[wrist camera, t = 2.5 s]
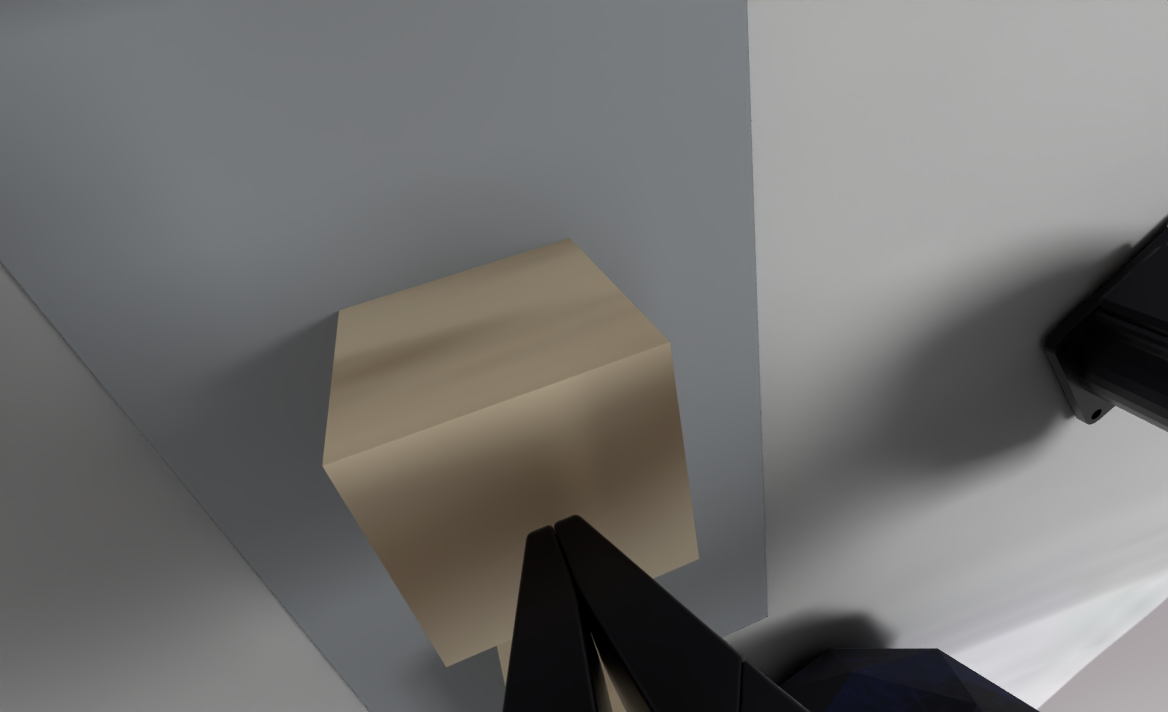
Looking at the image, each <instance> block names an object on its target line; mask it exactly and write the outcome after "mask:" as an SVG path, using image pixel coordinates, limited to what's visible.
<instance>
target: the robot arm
mask: <svg viewBox="0 0 1168 712" xmlns="http://www.w3.org/2000/svg"><path fill="white" fill-rule="evenodd" d="M1044 350H1045V352H1046V354H1047V356H1048V358H1049V360H1050V362H1051V365H1052V367H1053V369H1054V371H1055V373H1056V375H1057V377H1058V379H1059V382H1060V384H1061V386H1062V388H1063V390H1064V392H1065V394H1066V396H1067V399H1068V401H1069V403H1070V405H1071V407H1072V409H1073V411H1074V414H1075V416H1076V418H1078V419H1079V420H1081V421H1083V422H1085V423H1086V424H1093V423H1095V422H1097V421H1098V420H1099V419H1100V418H1102V417H1103V416H1104V415H1105V414H1106V413H1107V412H1108V411H1110V410H1111V409H1112V408H1113V407H1114V406H1117V407H1119V408H1121V409H1123V410H1125V411H1127V412H1129V413H1131V414H1133V415H1135V416H1137V417H1139V418H1141V419H1143V420H1145V421H1147V422H1149V423H1151V424H1153V425H1155V426H1157V427H1159V428H1161V429H1163V430H1165V431H1167V432H1168V227H1167V228H1166V229H1165V230H1164V231H1163V232H1162V233H1161V234H1160V235H1159V236H1157V237H1156V238H1155V239H1154V240H1153V241H1152V242H1151V243H1150V244H1149V245H1148V246H1146V247H1145V248H1144V249H1143V250H1142V251H1141V252H1140V253H1139V254H1138V255H1137V256H1135V257H1134V258H1133V259H1132V260H1131V261H1130V262H1129V263H1128V264H1127V265H1126V266H1124V267H1123V268H1122V269H1121V270H1120V271H1119V272H1118V273H1117V274H1116V275H1115V276H1114V277H1112V278H1111V279H1110V280H1109V281H1108V282H1107V283H1106V284H1105V285H1104V286H1103V287H1101V288H1100V289H1099V290H1098V291H1097V292H1096V293H1095V294H1094V295H1093V296H1092V297H1090V298H1089V299H1088V300H1087V301H1086V302H1085V303H1084V304H1083V305H1082V306H1081V307H1079V308H1078V309H1077V310H1076V311H1075V312H1074V313H1073V314H1072V315H1071V316H1070V317H1069V318H1067V319H1066V320H1065V321H1064V322H1063V323H1062V324H1061V325H1060V326H1059V327H1058V328H1056V329H1055V330H1054V331H1053V332H1052V333H1051V334H1050V335H1049V336H1048V338H1047V340H1046V341H1045V345H1044ZM554 529H555V530H554ZM555 532H556V533H555ZM595 645H596V646H595ZM596 648H597V649H596ZM597 650H598V652H597ZM598 653H599V656H600V658H601V661H602V663H603V665H604V667H605V669H606V672H607V674H608V676H609V678H610V680H611V682H612V684H613V686H614V688H615V690H616V692H617V694H618V696H619V698H620V700H621V702H622V704H623V706H624V708H625V710H626V712H810V711H809V710H807V709H806V708H805V707H803V706H802V705H801V704H800V703H799V702H797V701H796V700H795V699H794V698H792V697H791V696H790V695H789V694H787V693H786V692H785V691H784V690H783V689H781V688H780V687H779V686H778V685H776V684H775V683H774V682H773V681H771V680H770V679H769V678H768V677H767V676H766V675H764V674H763V673H762V672H761V671H760V670H759V669H757V668H756V667H755V666H754V665H753V664H752V663H751V662H749V661H748V660H745V661H744V662H743V656H742V655H741V654H740V653H739V652H737V651H736V650H735V649H734V648H733V647H732V646H730V645H729V644H728V643H727V642H726V641H725V640H723V639H722V638H721V637H720V636H719V635H718V634H717V633H715V632H714V631H713V630H712V629H711V628H710V627H708V626H707V625H706V624H705V623H704V622H703V621H701V620H700V619H699V618H698V617H697V616H696V615H695V614H693V613H692V612H691V611H690V610H689V609H688V608H686V607H685V606H684V605H683V604H682V603H681V602H679V601H678V600H677V599H676V598H675V597H674V596H673V595H671V594H670V593H669V592H668V591H667V590H666V589H664V588H663V587H662V586H661V585H660V584H659V583H657V582H656V581H655V580H654V579H653V578H652V577H651V576H649V575H648V574H647V573H646V572H645V571H644V570H642V569H641V568H640V567H639V566H638V565H637V564H635V563H634V562H633V561H632V560H631V559H630V558H628V557H627V556H626V555H625V554H624V553H623V552H622V551H620V550H619V549H618V548H617V547H616V546H615V545H613V544H612V543H611V542H610V541H609V540H608V539H606V538H605V537H604V536H603V535H602V534H601V533H600V532H598V531H597V530H596V529H595V528H594V527H593V526H591V525H590V524H589V523H588V522H587V521H586V520H584V519H583V518H582V517H581V516H579V515H572V516H570V517H567V518H565V519H562V520H559V521H557V522H556V523H555V524H554V528H553V526H551V525H547V526H544V527H542V528H539V529H537V530H534V531H532V532H530V533H529V534H528V535H527V537H526V543H525V550H524V557H523V564H522V571H521V579H520V586H519V593H518V600H517V607H516V614H515V622H514V629H513V636H512V643H511V650H510V657H509V665H508V672H507V679H506V686H505V693H504V700H503V708H502V712H613V711H612V706H611V702H610V698H609V694H608V689H607V685H606V681H605V677H604V673H603V669H602V665H601V662H600V659H599V656H598Z"/></svg>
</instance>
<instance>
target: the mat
mask: <svg viewBox="0 0 1168 712" xmlns="http://www.w3.org/2000/svg"><path fill="white" fill-rule="evenodd" d="M568 238H570V239H571V240H572V241H573V242H574V243H575V244H576V245H577V246H578V247H579V248H580V249H581V250H582V251H583V252H584V253H585V254H586V255H587V256H588V257H589V258H590V259H591V260H592V261H593V263H594V264H595V265H596V266H597V267H598V268H599V269H600V270H601V271H602V272H603V273H604V274H605V275H606V276H607V277H608V278H609V279H610V280H611V281H612V282H613V283H614V284H615V285H616V286H617V287H618V289H619V290H620V291H621V292H622V293H623V294H624V295H625V296H626V297H627V298H628V299H629V300H630V301H631V302H632V303H633V304H634V305H635V306H636V307H637V308H638V309H639V310H640V311H641V312H642V313H643V314H644V316H645V317H646V318H647V319H648V320H649V321H650V322H651V323H652V324H653V325H654V326H655V327H656V328H657V329H658V330H659V331H660V332H661V333H662V334H663V335H664V336H665V337H666V338H667V339H668V340H669V342H670V345H671V353H672V360H673V368H674V375H675V383H676V390H677V398H678V405H679V412H680V420H681V427H682V435H683V442H684V450H685V457H686V465H687V472H688V480H689V487H690V495H691V502H692V510H693V517H694V524H695V532H696V539H697V547H698V554H699V559H698V560H696V561H693V562H691V563H689V564H686V565H684V566H682V567H679V568H677V569H674V570H672V571H670V572H667V573H665V574H663V575H660V576H658V577H656V578H653V579H654V580H655V581H656V582H657V583H659V584H660V585H661V586H662V587H663V588H664V589H666V590H667V591H668V592H669V593H670V594H671V595H673V596H674V597H675V598H676V599H677V600H678V601H679V602H681V603H682V604H683V605H684V606H685V607H686V608H688V609H689V610H690V611H691V612H692V613H693V614H695V615H696V616H697V617H698V618H699V619H700V620H701V621H703V622H704V623H705V624H706V625H707V626H708V627H710V628H711V629H712V630H713V631H714V632H715V633H717V634H718V635H719V636H720V637H721V638H722V637H724V636H726V635H728V634H731V633H733V632H735V631H737V630H739V629H742V628H744V627H746V626H748V625H750V624H753V623H755V622H757V621H759V620H761V619H764V618H766V617H768V613H767V583H766V553H765V523H764V493H763V463H762V433H761V403H760V373H759V343H758V313H757V283H756V254H755V224H754V194H753V164H752V134H751V104H750V74H749V44H748V14H747V0H0V261H1V263H2V264H3V265H4V266H5V267H6V269H7V270H8V271H9V272H10V274H11V275H12V276H13V277H14V278H15V280H16V281H17V282H18V283H19V285H20V286H21V287H22V288H23V289H24V291H25V292H26V293H27V294H28V296H29V297H30V298H31V299H32V300H33V302H34V303H35V304H36V305H37V306H38V308H39V309H40V310H41V311H42V313H43V314H44V315H45V316H46V317H47V319H48V320H49V321H50V322H51V324H52V325H53V326H54V327H55V328H56V330H57V331H58V332H59V333H60V335H61V336H62V337H63V338H64V339H65V341H66V342H67V343H68V344H69V346H70V347H71V348H72V349H73V350H74V352H75V353H76V354H77V355H78V356H79V358H80V359H81V360H82V361H83V363H84V364H85V365H86V366H87V367H88V369H89V370H90V371H91V372H92V374H93V375H94V376H95V377H96V378H97V380H98V381H99V382H100V383H101V385H102V386H103V387H104V388H105V389H106V391H107V392H108V393H109V394H110V395H111V397H112V398H113V399H114V400H115V402H116V403H117V404H118V405H119V406H120V408H121V409H122V410H123V411H124V413H125V414H126V415H127V416H128V417H129V419H130V420H131V421H132V422H133V424H134V425H135V426H136V427H137V428H138V430H139V431H140V432H141V433H142V435H143V436H144V437H145V438H146V439H147V441H148V442H149V443H150V444H151V445H152V447H153V448H154V449H155V450H156V452H157V453H158V454H159V455H160V456H161V458H162V459H163V460H164V461H165V463H166V464H167V465H168V466H169V467H170V469H171V470H172V471H173V472H174V474H175V475H176V476H177V477H178V478H179V480H180V481H181V482H182V483H183V484H184V486H185V487H186V488H187V489H188V491H189V492H190V493H191V494H192V495H193V497H194V498H195V499H196V500H197V502H198V503H199V504H200V505H201V506H202V508H203V509H204V510H205V511H206V513H207V514H208V515H209V516H210V517H211V519H212V520H213V521H214V522H215V524H216V525H217V526H218V527H219V528H220V530H221V531H222V532H223V533H224V534H225V536H226V537H227V538H228V539H229V541H230V542H231V543H232V544H233V545H234V547H235V548H236V549H237V550H238V552H239V553H240V554H241V555H242V556H243V558H244V559H245V560H246V561H247V563H248V564H249V565H250V566H251V567H252V569H253V570H254V571H255V572H256V573H257V575H258V576H259V577H260V578H261V580H262V581H263V582H264V583H265V584H266V586H267V587H268V588H269V589H270V591H271V592H272V593H273V594H274V595H275V597H276V598H277V599H278V600H279V602H280V603H281V604H282V605H283V606H284V608H285V609H286V610H287V611H288V613H289V614H290V615H291V616H292V617H293V619H294V620H295V621H296V622H297V623H298V625H299V626H300V627H301V628H302V630H303V631H304V632H305V633H306V634H307V636H308V637H309V638H310V639H311V641H312V642H313V643H314V644H315V645H316V647H317V648H318V649H319V650H320V652H321V653H322V654H323V655H324V656H325V658H326V659H327V660H328V661H329V662H330V664H331V665H332V666H333V667H334V669H335V670H336V671H337V672H338V673H339V675H340V676H341V677H342V678H343V680H344V681H345V682H346V683H347V684H348V686H349V687H350V688H351V689H352V691H353V692H354V693H355V694H356V695H357V697H358V698H359V699H360V700H361V702H362V703H363V704H364V705H365V706H366V708H367V709H368V710H369V711H370V712H502V708H503V700H504V693H505V683H504V678H503V674H502V669H501V664H500V659H499V654H498V649H497V646H495V647H492V648H490V649H488V650H485V651H483V652H481V653H478V654H476V655H474V656H471V657H469V658H467V659H464V660H462V661H460V662H457V663H455V664H453V665H450V666H448V667H446V666H445V664H444V663H443V661H442V659H441V658H440V656H439V655H438V653H437V651H436V650H435V648H434V646H433V645H432V643H431V642H430V640H429V638H428V637H427V635H426V634H425V632H424V630H423V629H422V627H421V625H420V624H419V622H418V621H417V619H416V617H415V616H414V614H413V612H412V611H411V609H410V608H409V606H408V604H407V603H406V601H405V599H404V598H403V596H402V595H401V593H400V591H399V590H398V588H397V586H396V585H395V583H394V582H393V580H392V578H391V577H390V575H389V573H388V572H387V570H386V569H385V567H384V565H383V564H382V562H381V561H380V559H379V557H378V556H377V554H376V552H375V551H374V549H373V548H372V546H371V544H370V543H369V541H368V539H367V538H366V536H365V535H364V533H363V531H362V530H361V528H360V526H359V525H358V523H357V522H356V520H355V518H354V517H353V515H352V513H351V512H350V510H349V509H348V507H347V505H346V504H345V502H344V501H343V499H342V497H341V496H340V494H339V492H338V491H337V489H336V488H335V486H334V484H333V483H332V481H331V479H330V478H329V476H328V475H327V473H326V471H325V470H324V468H323V466H322V464H323V454H324V445H325V436H326V427H327V418H328V408H329V399H330V390H331V381H332V371H333V362H334V353H335V344H336V334H337V325H338V316H339V310H342V309H345V308H348V307H351V306H355V305H358V304H361V303H364V302H367V301H371V300H374V299H377V298H380V297H383V296H386V295H390V294H393V293H396V292H399V291H402V290H406V289H409V288H412V287H415V286H418V285H422V284H425V283H428V282H431V281H434V280H438V279H441V278H444V277H447V276H450V275H453V274H457V273H460V272H463V271H466V270H469V269H473V268H476V267H479V266H482V265H485V264H489V263H492V262H495V261H498V260H501V259H504V258H508V257H511V256H514V255H517V254H520V253H524V252H527V251H530V250H533V249H536V248H540V247H543V246H546V245H549V244H552V243H556V242H559V241H562V240H565V239H568Z"/></svg>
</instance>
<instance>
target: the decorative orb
mask: <svg viewBox="0 0 1168 712" xmlns="http://www.w3.org/2000/svg"><path fill="white" fill-rule="evenodd" d="M779 687H780V688H781V689H783V690H784V691H785V692H786V693H787V694H789V695H790V696H791V697H792V698H794V699H795V700H796V701H797V702H799V703H800V704H801V705H802V706H803V707H805V708H806V709H807V710H809V711H810V712H1039V711H1038V710H1036V709H1034V708H1033V707H1031V706H1030V705H1028V704H1026V703H1025V702H1023V701H1021V700H1020V699H1018V698H1017V697H1015V696H1013V695H1012V694H1010V693H1009V692H1007V691H1005V690H1004V689H1002V688H1000V687H999V686H997V685H996V684H994V683H992V682H991V681H989V680H987V679H986V678H984V677H983V676H981V675H979V674H978V673H976V672H974V671H973V670H971V669H970V668H968V667H966V666H965V665H963V664H962V663H960V662H958V661H957V660H955V659H953V658H952V657H950V656H949V655H947V654H945V653H944V652H942V651H940V650H939V649H827V650H826V651H825V652H823V653H822V654H821V655H820V656H818V657H817V658H816V659H814V660H813V661H812V662H810V663H809V664H808V665H807V666H805V667H804V668H803V669H801V670H800V671H799V672H797V673H796V674H795V675H794V676H792V677H791V678H790V679H788V680H787V681H786V682H784V683H783V684H782V685H781V686H779Z"/></svg>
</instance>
